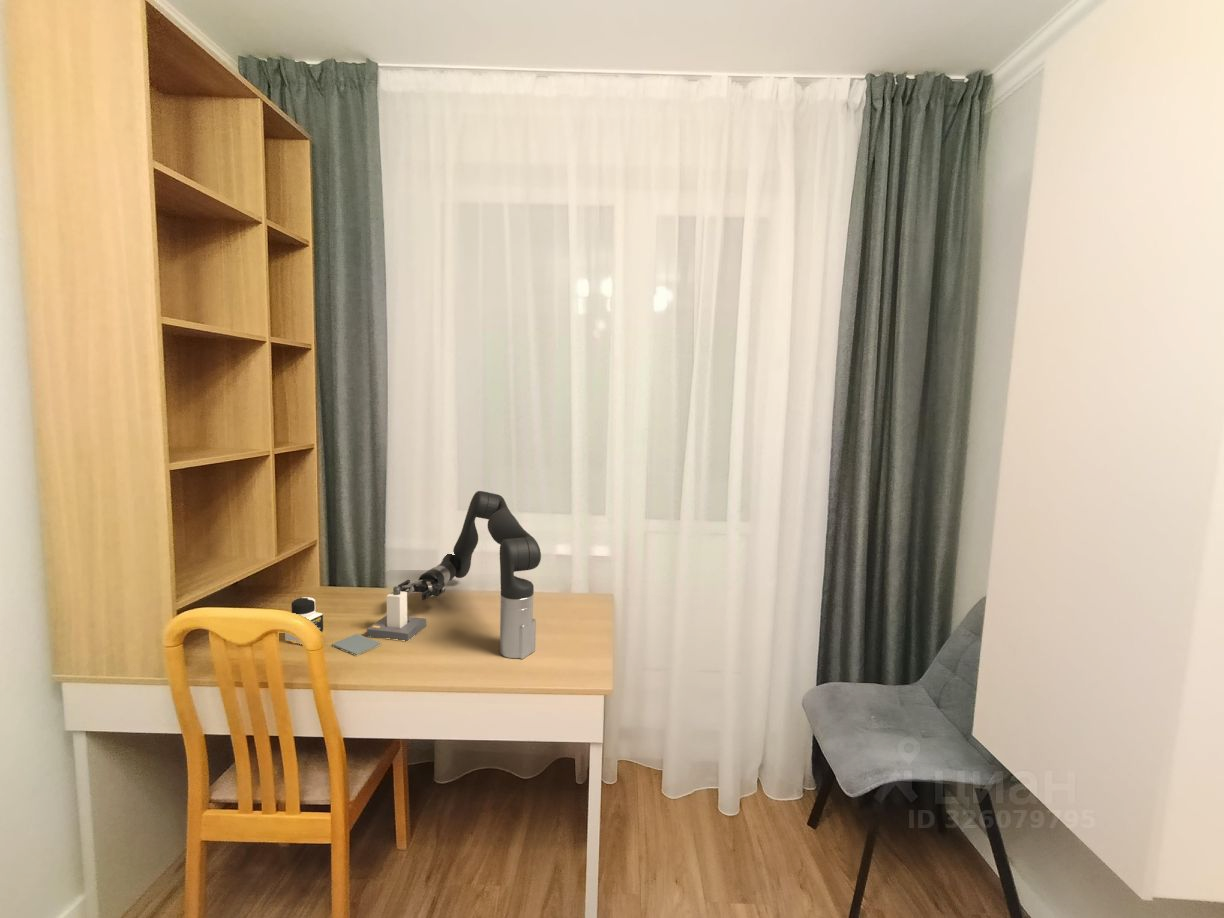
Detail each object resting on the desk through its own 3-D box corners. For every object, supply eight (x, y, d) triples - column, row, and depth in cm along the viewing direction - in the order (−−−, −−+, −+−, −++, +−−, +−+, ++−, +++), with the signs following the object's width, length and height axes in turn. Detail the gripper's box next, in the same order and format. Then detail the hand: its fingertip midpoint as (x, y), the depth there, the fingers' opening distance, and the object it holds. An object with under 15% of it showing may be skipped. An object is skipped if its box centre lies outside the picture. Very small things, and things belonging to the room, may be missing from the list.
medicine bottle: (303, 646, 158) (302, 605, 156) (284, 641, 160) (283, 601, 159) (324, 636, 165) (322, 597, 163) (305, 631, 167) (304, 593, 165)
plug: (407, 629, 171) (406, 585, 169) (400, 635, 167) (399, 590, 165) (394, 627, 172) (394, 584, 170) (387, 633, 168) (386, 589, 166)
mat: (381, 645, 160) (381, 643, 160) (356, 656, 153) (356, 654, 153) (356, 635, 166) (356, 633, 166) (331, 645, 159) (331, 643, 159)
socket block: (426, 626, 174) (426, 617, 173) (407, 641, 163) (407, 632, 163) (387, 621, 176) (387, 613, 175) (367, 636, 165) (367, 628, 165)
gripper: (415, 567, 192) (389, 582, 176) (454, 570, 190) (431, 586, 174) (415, 587, 193) (389, 605, 177) (454, 591, 191) (431, 609, 175)
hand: (410, 596), depth 176 cm, fingers open, 8 cm apart
